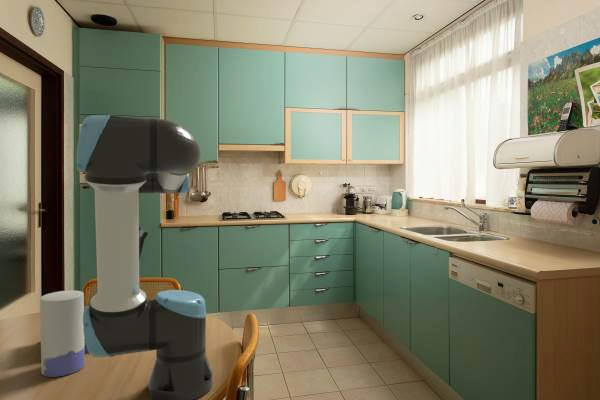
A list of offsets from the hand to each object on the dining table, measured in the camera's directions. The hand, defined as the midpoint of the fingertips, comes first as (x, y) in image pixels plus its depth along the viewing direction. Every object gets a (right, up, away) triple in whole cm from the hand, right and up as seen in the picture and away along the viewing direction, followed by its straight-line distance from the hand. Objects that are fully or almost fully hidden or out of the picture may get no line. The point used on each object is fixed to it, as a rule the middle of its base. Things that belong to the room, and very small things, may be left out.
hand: (126, 283), depth 130 cm
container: (-7, -18, -22) cm, 30 cm away
